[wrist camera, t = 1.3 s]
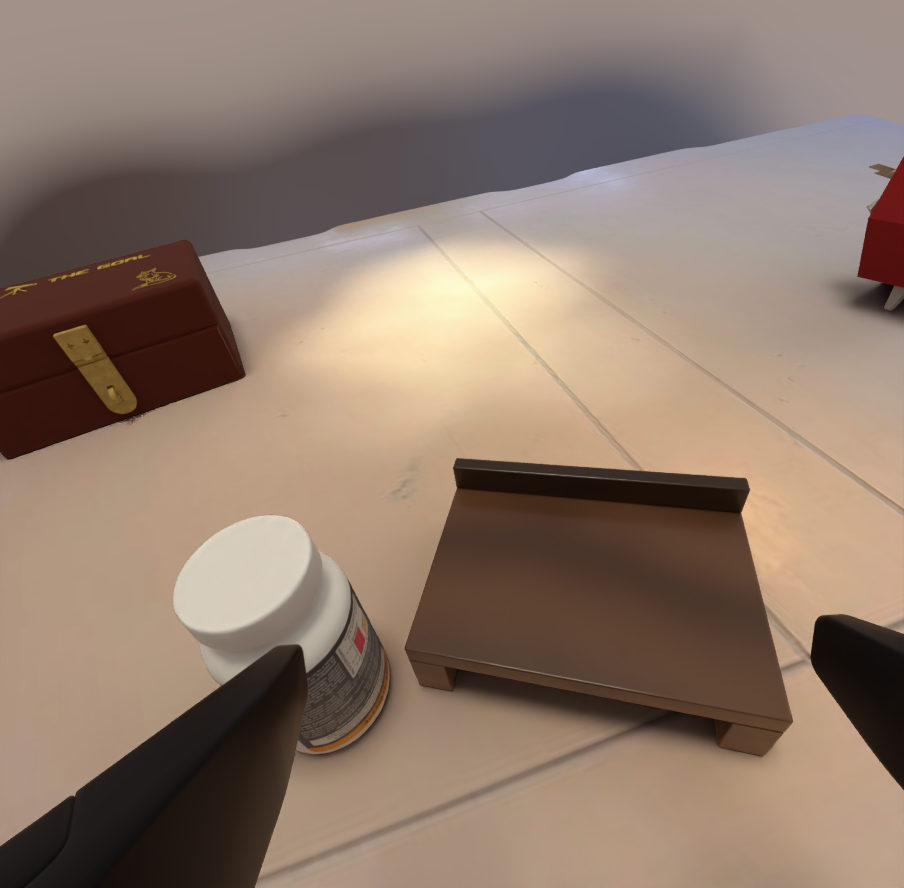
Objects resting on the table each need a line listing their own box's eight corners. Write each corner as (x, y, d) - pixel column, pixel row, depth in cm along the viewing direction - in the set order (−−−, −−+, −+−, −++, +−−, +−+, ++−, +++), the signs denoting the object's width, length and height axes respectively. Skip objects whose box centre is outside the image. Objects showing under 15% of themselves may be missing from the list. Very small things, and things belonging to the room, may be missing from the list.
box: (1, 470, 40) (-105, 368, 34) (36, 383, 52) (-37, 296, 46) (248, 383, 46) (198, 281, 39) (229, 322, 57) (188, 236, 51)
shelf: (764, 756, 18) (810, 703, 15) (419, 684, 22) (395, 629, 19) (722, 545, 25) (747, 477, 22) (467, 518, 29) (456, 457, 26)
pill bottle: (398, 628, 24) (342, 495, 18) (384, 758, 20) (304, 643, 14) (291, 634, 25) (200, 508, 18) (255, 761, 21) (120, 654, 14)
